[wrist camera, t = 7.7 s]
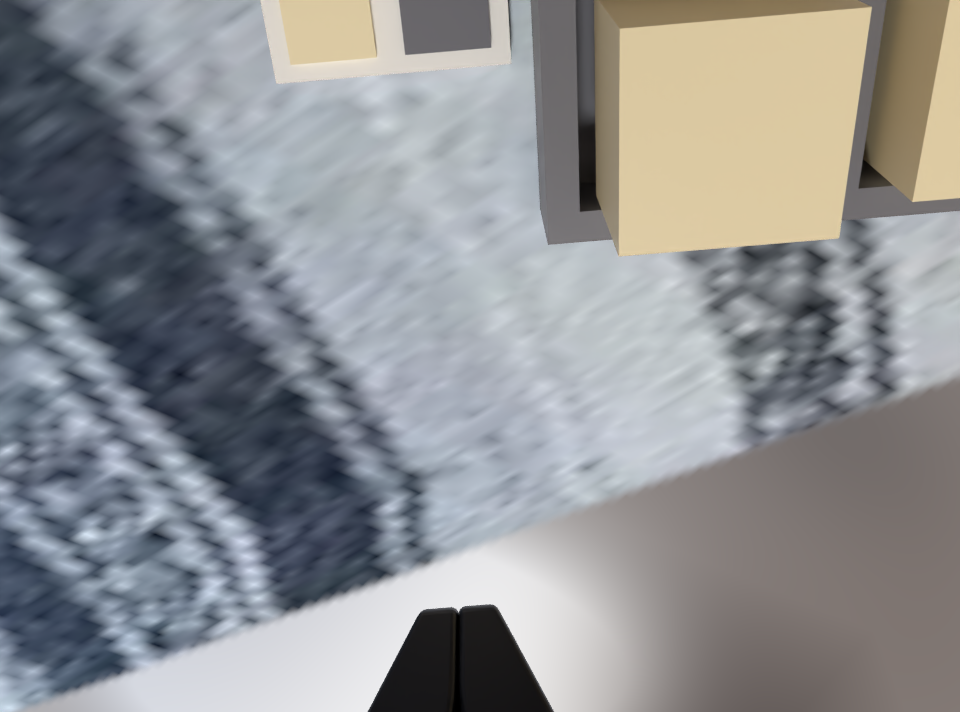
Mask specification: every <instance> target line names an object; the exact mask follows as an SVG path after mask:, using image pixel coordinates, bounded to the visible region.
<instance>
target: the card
mask: <svg viewBox="0 0 960 712" xmlns="http://www.w3.org/2000/svg"><path fill="white" fill-rule="evenodd" d="M260 1H261V6H262V12H263V17H264V22H265V27H266V32H267V38H268V43H269V48H270V53H271V58H272V63H273V69H274V74H275V79H276V84H282V83H294V82H305V81H317V80H329V79H340V78H352V77H364V76H375V75H387V74H399V73H411V72H422V71H434V70H446V69H457V68H469V67H481V66H492V65H504V64H511V49H510V32H509V15H508V0H260Z"/></svg>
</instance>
